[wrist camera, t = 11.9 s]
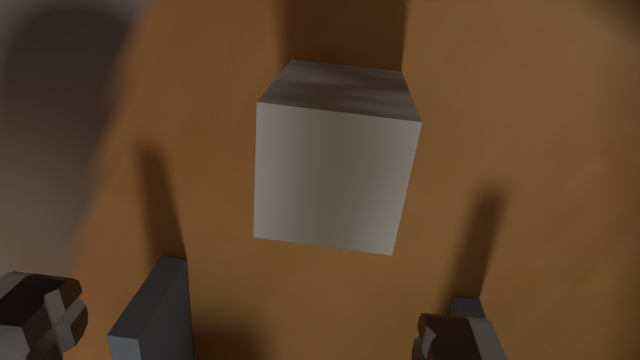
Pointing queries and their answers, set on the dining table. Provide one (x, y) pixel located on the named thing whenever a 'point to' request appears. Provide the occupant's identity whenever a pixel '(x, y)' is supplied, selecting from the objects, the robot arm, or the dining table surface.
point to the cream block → (334, 156)
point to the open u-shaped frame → (183, 316)
